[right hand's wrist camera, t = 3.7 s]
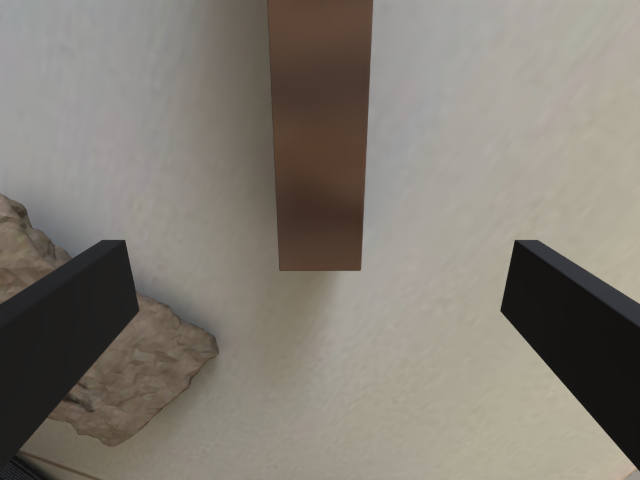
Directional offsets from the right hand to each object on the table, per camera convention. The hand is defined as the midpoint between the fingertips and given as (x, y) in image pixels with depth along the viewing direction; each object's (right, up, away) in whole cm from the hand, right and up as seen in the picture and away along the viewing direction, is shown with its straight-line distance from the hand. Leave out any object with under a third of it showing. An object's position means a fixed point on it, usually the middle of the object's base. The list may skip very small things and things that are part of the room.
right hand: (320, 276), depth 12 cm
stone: (-20, -6, +20) cm, 29 cm away
